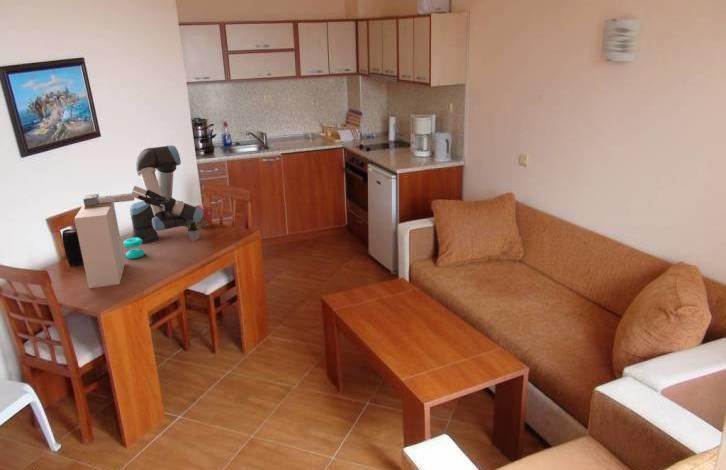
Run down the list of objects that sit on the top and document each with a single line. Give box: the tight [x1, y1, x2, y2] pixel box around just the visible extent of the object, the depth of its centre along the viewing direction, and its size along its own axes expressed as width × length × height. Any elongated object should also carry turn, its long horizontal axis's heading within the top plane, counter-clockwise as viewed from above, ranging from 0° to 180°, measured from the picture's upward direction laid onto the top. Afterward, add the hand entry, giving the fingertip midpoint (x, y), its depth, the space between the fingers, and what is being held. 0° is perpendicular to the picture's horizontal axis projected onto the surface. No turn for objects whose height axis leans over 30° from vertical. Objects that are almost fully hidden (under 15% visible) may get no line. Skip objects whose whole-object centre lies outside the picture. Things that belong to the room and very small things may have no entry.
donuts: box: [122, 237, 145, 260], centre depth 316 cm, size 10×10×10 cm
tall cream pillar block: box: [74, 203, 126, 289], centre depth 286 cm, size 14×30×37 cm, turn 17°
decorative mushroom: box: [194, 204, 212, 228], centre depth 363 cm, size 13×13×15 cm
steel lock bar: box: [82, 192, 135, 207], centre depth 288 cm, size 23×8×4 cm, turn 107°
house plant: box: [186, 221, 202, 241], centre depth 341 cm, size 14×14×16 cm
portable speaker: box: [62, 228, 84, 267], centre depth 306 cm, size 9×9×20 cm
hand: (132, 190), depth 290 cm, fingers open, 12 cm apart
